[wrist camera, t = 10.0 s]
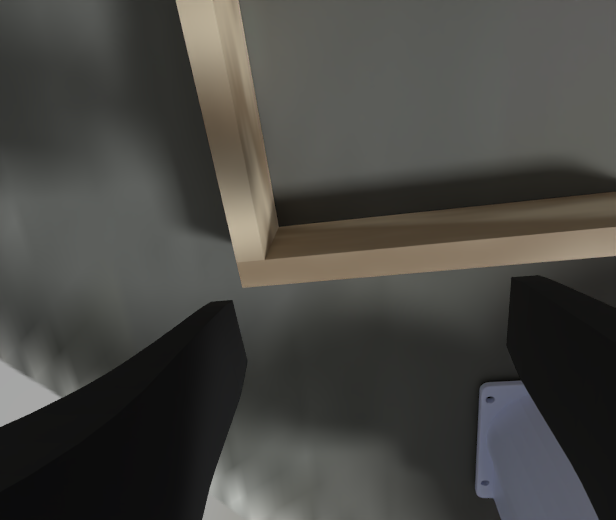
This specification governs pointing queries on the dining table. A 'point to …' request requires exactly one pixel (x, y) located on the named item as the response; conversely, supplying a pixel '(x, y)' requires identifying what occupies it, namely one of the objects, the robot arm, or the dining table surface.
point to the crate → (364, 231)
